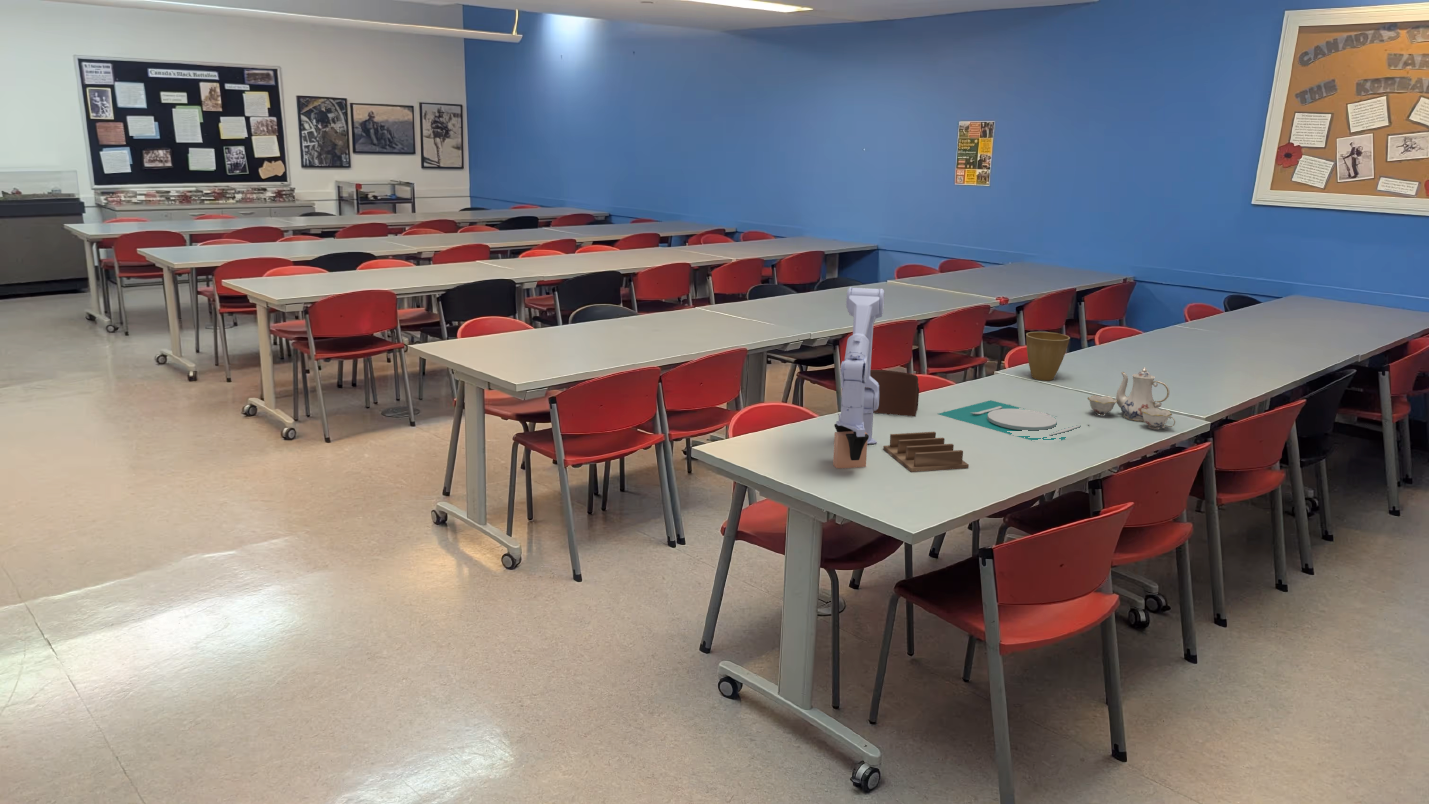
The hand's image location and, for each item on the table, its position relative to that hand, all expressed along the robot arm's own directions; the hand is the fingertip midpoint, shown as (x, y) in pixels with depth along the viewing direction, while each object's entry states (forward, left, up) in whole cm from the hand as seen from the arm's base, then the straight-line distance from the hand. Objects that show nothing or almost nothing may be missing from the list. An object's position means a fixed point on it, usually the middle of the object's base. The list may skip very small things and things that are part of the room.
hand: (850, 455), depth 239 cm
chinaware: (-26, +102, -3) cm, 105 cm away
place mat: (-29, +66, -4) cm, 72 cm away
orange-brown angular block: (0, 0, -3) cm, 3 cm away
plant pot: (-79, +103, -3) cm, 130 cm away
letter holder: (-49, +30, -3) cm, 58 cm away
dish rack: (-2, +22, -3) cm, 22 cm away
